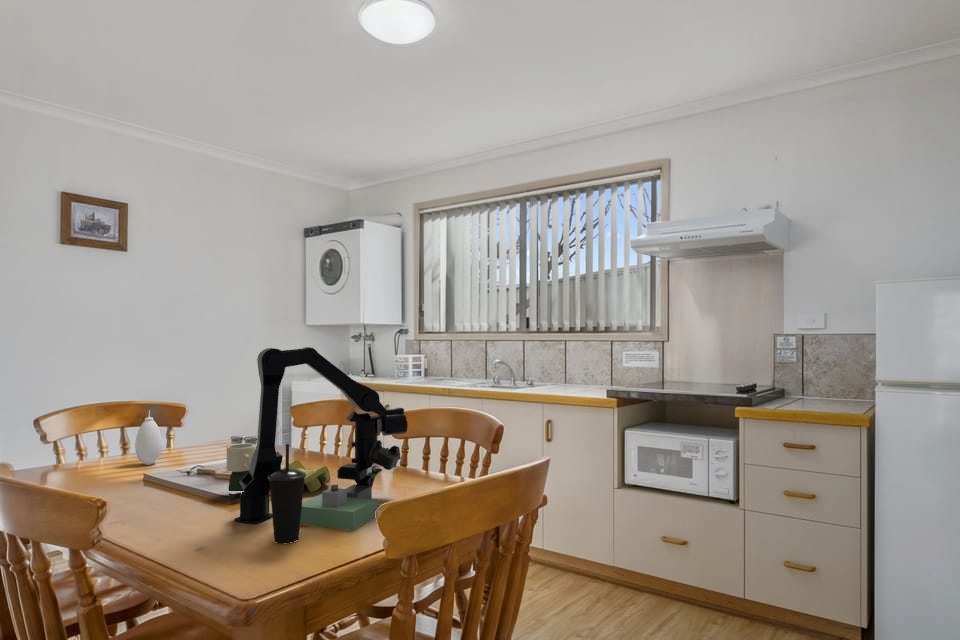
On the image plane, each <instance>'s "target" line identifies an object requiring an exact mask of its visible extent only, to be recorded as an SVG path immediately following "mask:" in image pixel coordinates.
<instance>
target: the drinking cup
mask: <svg viewBox="0 0 960 640" xmlns="http://www.w3.org/2000/svg"><path fill="white" fill-rule="evenodd" d="M289 464H290V444H289V443H286V444H285V466H286V468H285V469H282V468H281V469H280V470H278V471H275V472H274V473H272V474H270V475H268V479H269V482H270V491H269V495H270V503H271V505H270V506H271V513H272V517H271V518H272V526H273V539H274V540H273V541H274V543H275V542H277V543H276V544H278V543H289V544H291V543H290V542H293V543H295V542H294V541H296V540H298V541H299V539H300V538H299V537H300V528H301V524H300V520H301V510H302V503H303V497H304V488H305V486H304V485H305V484H304V479H305V477H306V473H305V472H302V471H300V470H297V469H293V468H289ZM296 542H297V541H296Z"/></svg>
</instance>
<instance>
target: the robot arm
mask: <svg viewBox="0 0 960 640" xmlns="http://www.w3.org/2000/svg"><path fill="white" fill-rule="evenodd" d="M256 360H257V361H256V362H257V369H258V370H257V371H258V376H259V381H260V400H259V409H258V411H259V412H258V426H257V427H258V428H257V440H256V445H255V451H254V454H253V457H252V461H251V465H250V469H249V472H248V473H247V474H246V475H245V476H244V477H243V478H242V479H241V480H240V485H241V488H242V489H243V491H244V492H242V494H239V516H237V517H236V518H234V519H233V520H234V522H240V523H241V522H242V523H249V524H259V523H262V522H264V521H266V520H268V519H272V518H273V517H272V512H270V482H269V479H268V475H270V474H272V473H274V472H275V471H278V470H280V469H282V462H283V457H284V456H283V455H282V454H281V453H280V452H279V451H277V450H276V436H277V435H276V434H277V424H278V423H277V421H278V405H279V393H280V392H279V391H280V387H281V383H282V380H283V378H284V375H285V372H286V371H285V370H286V368H288V367H295V366H296V367H297V366H301V365H307V366H308V367H309V368H311V369H312V370H314V371H315V372H316V373H317V374H319V375H320V376H321V377H323V378H324V379H325V380H327V381H328V382H329V383H331V384H332V385H333V386H334V387H336V388H337V389H338V390H340V392H342V394H343V395H344V396H345V398H346V399H347V400H348V401H349V402H350V403H351V404H352V406H353V407H354V408H355V409H358V410H360V411H363V412H362V413H357V411H355V410H352V411H351V412H350V414H349V415H348V416H347V417H346V421H348V422H350V423H354V441H352V442H351V443H350V444H351V448H353V447H354V457H353V458H351V463H346V464H344V465H342V466H340V467H339V468H338V469H337V472H336V473H337V475H336V476H337V479H340V480H350V481H351V480H352V481H355V484H356V485H366V486H372V487H373V485H374V482H375V479H376V477H377V476H378V475H379V474H380V473H381V472H382V471H383V469H384V470H387V471H390V470H392V469H393V468H396V467H397V464H398V461H399V460H401V459H402V456H401V451H400V447H399V446H397V445H393V446H391V447H390V448H389V447H383V442H382V441H381V439H378V437H379V436H378V432H379V433H381V434H382V436H394V435H395V436H396V435H404V434H406V433H407V431H408V421H407V416H406V414H405V408H403V407H395V408H389V409H386V408H385V407H384V405H383V403H381V401H380V400H381V399H380V398H381V397H380V394H379V393H378V392H377V390H375V389H373V388H371V387H369V386H367V385H365V384H363V383H361V382H358V381H356V380H354V379H353V378H351V377H350V376H349V375H348V374H347V373H345V372H344V371H342V370H341V369H340V368H338V367H337V366H336V365H334V364H333V363H332V362H331V361H330V360H328V359H327V358H325V357H324V356H323V355H322V354H321V353H319V352H318V351H317V350H316V349H315V348H314V347H310V346H306V347H302V348H296V349H295V348H294V349H285V350H281V349H279V348H273V347H267V348H265V349H262V350H261V351H260V352H259V354H258V356H257V359H256ZM369 413H373V414H375V415H371V414H369ZM378 466H380V467H382V468H383V469H382V468H379V467H378Z"/></svg>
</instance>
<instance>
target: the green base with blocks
mask: <svg viewBox="0 0 960 640" xmlns="http://www.w3.org/2000/svg"><path fill="white" fill-rule="evenodd" d="M378 507H379V508H380V500H379V499H363V498H353V497H347V489H346V488H339V484H331V485H330V488H328V489H326V490H324V491H322V492H321V493H320V494H318V495H316V496H314V497H312V498H310V499H307V500H305V501H302V510H301V520H300V525H302V524H305V525H304V526H311V525H313V526H312V527H320V526H321V528H329V529H330V528H331V529H337V528H338V529H337V530H346V529H347V530H348V531H355V530H357V529H358V528H360V527H361V526H363V525H364V524H367V523H368V522H369V521H371V520H373V519H374V518H376V517H375V511H376V512H377V510H378V509H377V508H378ZM376 509H377V510H376ZM354 529H355V530H354Z"/></svg>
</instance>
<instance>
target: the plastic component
mask: <svg viewBox="0 0 960 640" xmlns="http://www.w3.org/2000/svg"><path fill="white" fill-rule="evenodd" d="M285 468H286V465H285V466H284V467H281V469H285ZM289 468H293V469H297V470H300V471H302V472H305V473H306V477H305V479H304V485H306V488H307V489H308V491H309V492H311V493H313V492H316V491H317V490H319V489H320V488H321V487H322V485H321V483H326V482H327V483H328V481H329V480H330V478H331V474H330V469H329V468H328V466H326V465H322V466H320V467H319V468H318V467H317V468H313V469H311V470H310V469H309V470H308V469H306V467H305V466H304V465H303V464H302V462H301V461H300V460H298V459H294V460H293V461H291V462H289Z"/></svg>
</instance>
